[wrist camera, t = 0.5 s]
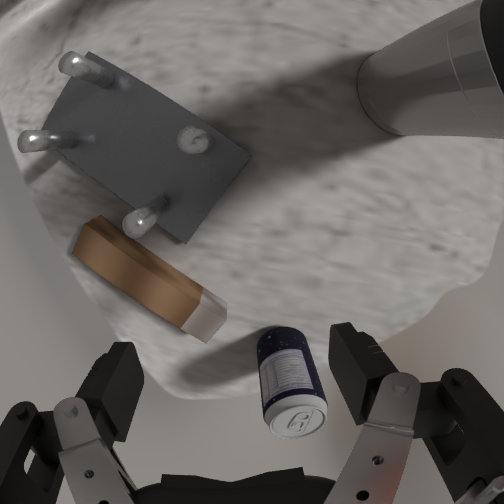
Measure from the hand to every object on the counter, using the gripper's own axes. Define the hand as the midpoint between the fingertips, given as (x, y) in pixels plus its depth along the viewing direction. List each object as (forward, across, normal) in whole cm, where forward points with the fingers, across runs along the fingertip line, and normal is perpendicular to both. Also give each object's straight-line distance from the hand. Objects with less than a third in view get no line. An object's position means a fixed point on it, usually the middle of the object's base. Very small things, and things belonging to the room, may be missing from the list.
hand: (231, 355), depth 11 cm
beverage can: (+18, -4, +12) cm, 23 cm away
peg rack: (+17, +8, -11) cm, 22 cm away
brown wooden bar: (+18, +8, +2) cm, 20 cm away
